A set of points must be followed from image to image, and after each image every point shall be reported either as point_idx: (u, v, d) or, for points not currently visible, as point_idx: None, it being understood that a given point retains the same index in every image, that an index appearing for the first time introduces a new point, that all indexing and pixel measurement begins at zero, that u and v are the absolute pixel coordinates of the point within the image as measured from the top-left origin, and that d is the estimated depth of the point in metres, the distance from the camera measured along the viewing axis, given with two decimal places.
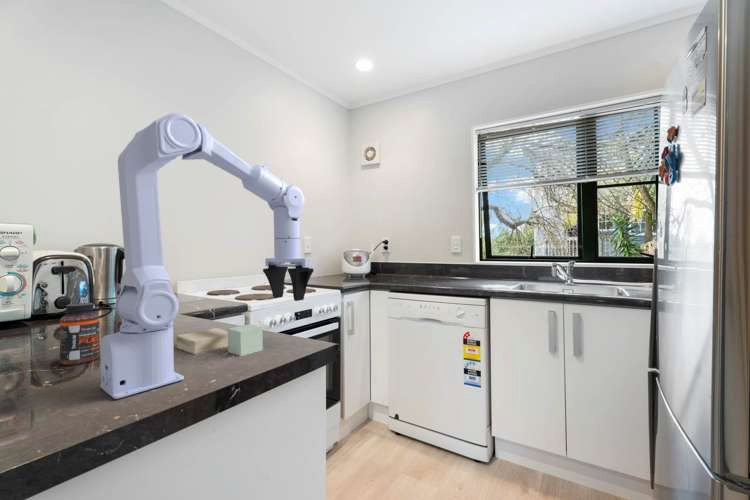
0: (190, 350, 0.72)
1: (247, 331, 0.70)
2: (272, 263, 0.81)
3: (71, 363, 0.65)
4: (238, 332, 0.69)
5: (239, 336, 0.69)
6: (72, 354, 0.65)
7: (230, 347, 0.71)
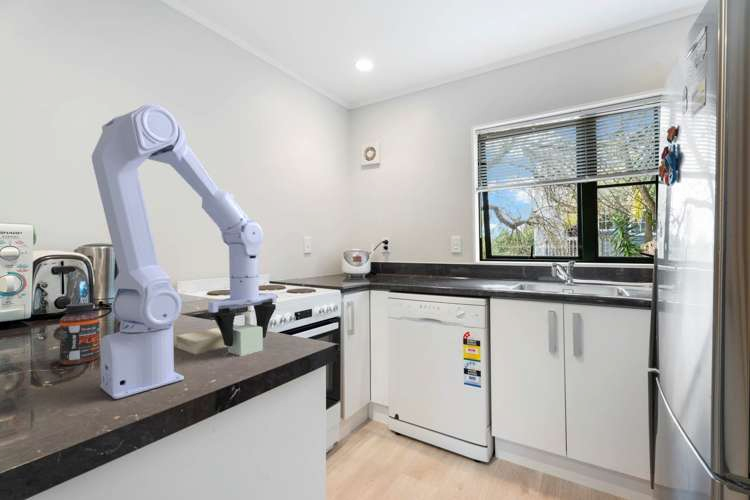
0: (190, 350, 0.72)
1: (247, 331, 0.70)
2: None
3: (71, 363, 0.65)
4: (238, 332, 0.69)
5: (239, 336, 0.69)
6: (72, 354, 0.65)
7: (230, 347, 0.71)
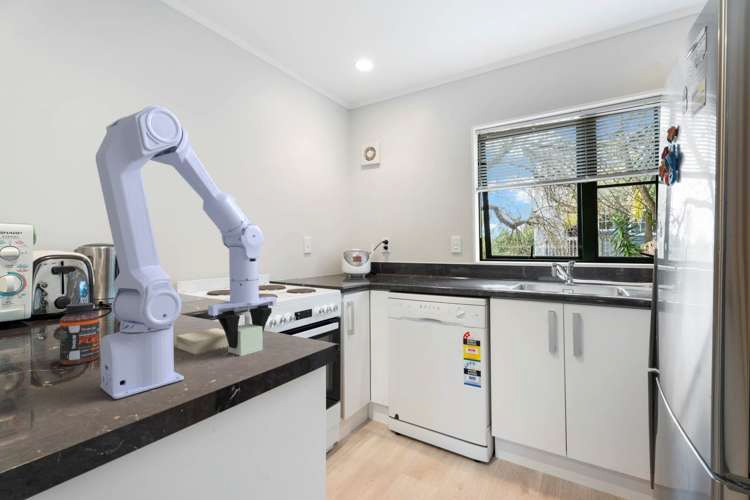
0: (190, 350, 0.72)
1: (247, 330, 0.70)
2: None
3: (71, 363, 0.65)
4: (238, 331, 0.69)
5: (239, 335, 0.69)
6: (72, 354, 0.65)
7: None
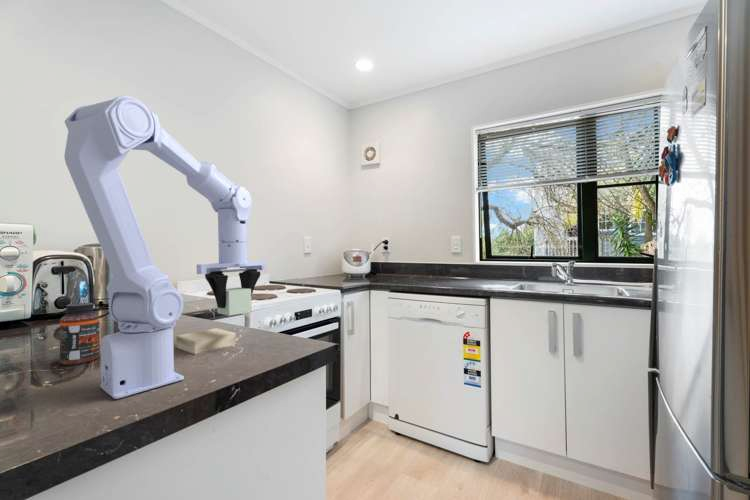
0: (190, 350, 0.72)
1: (235, 291, 0.71)
2: None
3: (71, 363, 0.65)
4: (226, 292, 0.71)
5: (227, 296, 0.70)
6: (72, 354, 0.65)
7: (219, 308, 0.73)
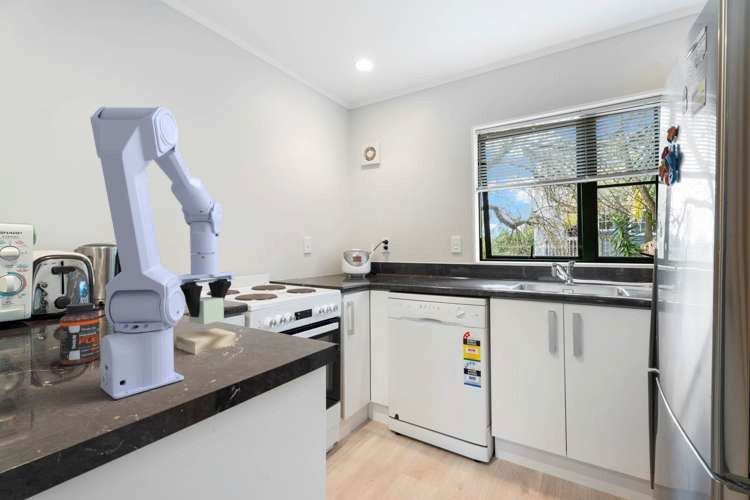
0: (190, 350, 0.72)
1: (209, 301, 0.75)
2: None
3: (71, 363, 0.65)
4: (201, 302, 0.74)
5: (202, 305, 0.74)
6: (72, 354, 0.65)
7: (191, 317, 0.75)
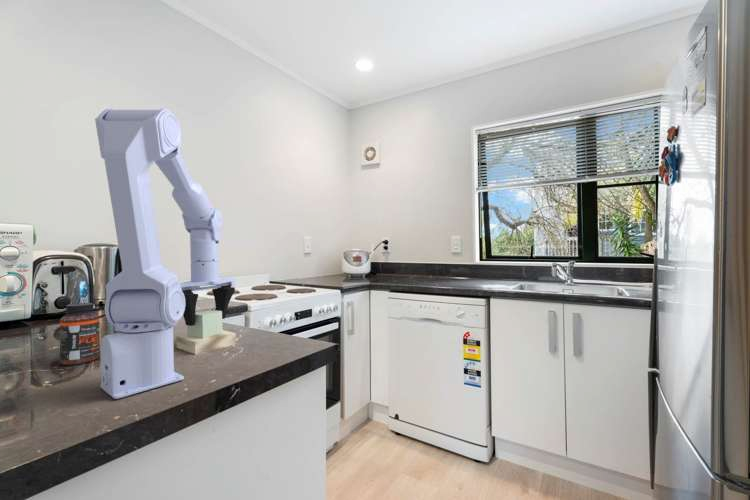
0: (190, 351, 0.72)
1: (208, 315, 0.75)
2: None
3: (71, 363, 0.65)
4: (199, 316, 0.74)
5: (201, 319, 0.74)
6: (72, 354, 0.65)
7: (190, 331, 0.75)
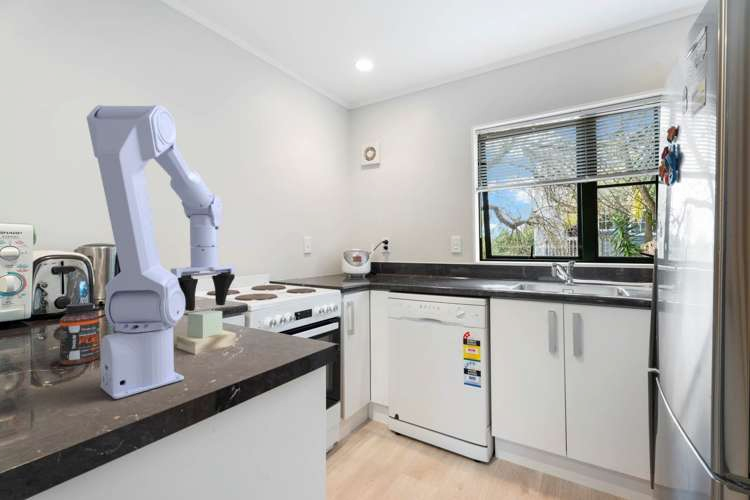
0: (191, 351, 0.72)
1: (208, 314, 0.75)
2: None
3: (71, 363, 0.65)
4: (200, 315, 0.74)
5: (201, 319, 0.74)
6: (72, 354, 0.65)
7: (190, 331, 0.75)
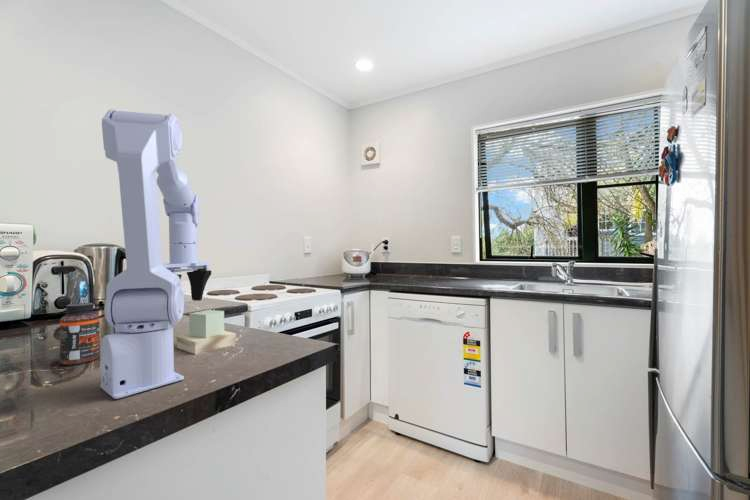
0: (191, 351, 0.72)
1: (211, 314, 0.75)
2: None
3: (71, 363, 0.65)
4: (203, 315, 0.74)
5: (204, 319, 0.74)
6: (72, 354, 0.65)
7: (192, 331, 0.75)
